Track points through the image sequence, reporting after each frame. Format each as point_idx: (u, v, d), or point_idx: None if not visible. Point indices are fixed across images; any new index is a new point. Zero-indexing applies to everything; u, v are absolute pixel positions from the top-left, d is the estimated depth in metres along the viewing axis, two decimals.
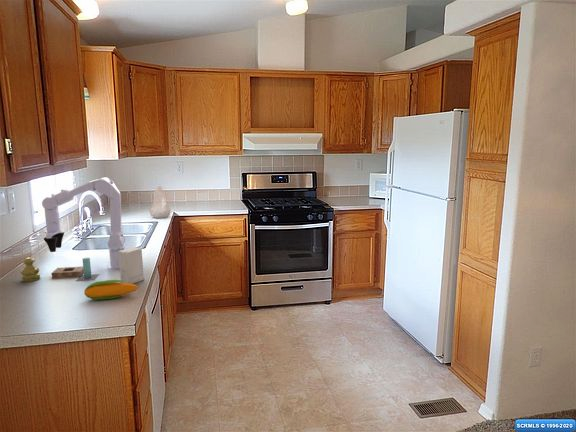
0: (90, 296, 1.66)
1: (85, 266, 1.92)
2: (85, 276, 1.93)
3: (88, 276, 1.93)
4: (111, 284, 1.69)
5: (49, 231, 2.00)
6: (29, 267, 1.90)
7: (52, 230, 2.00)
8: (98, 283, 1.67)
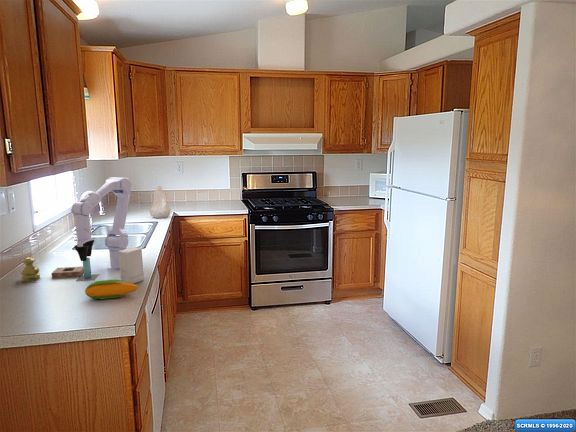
0: (90, 295, 1.67)
1: (85, 266, 1.92)
2: (85, 276, 1.93)
3: (88, 276, 1.93)
4: (111, 284, 1.69)
5: (80, 239, 1.88)
6: (29, 267, 1.90)
7: (83, 238, 1.88)
8: (98, 282, 1.68)
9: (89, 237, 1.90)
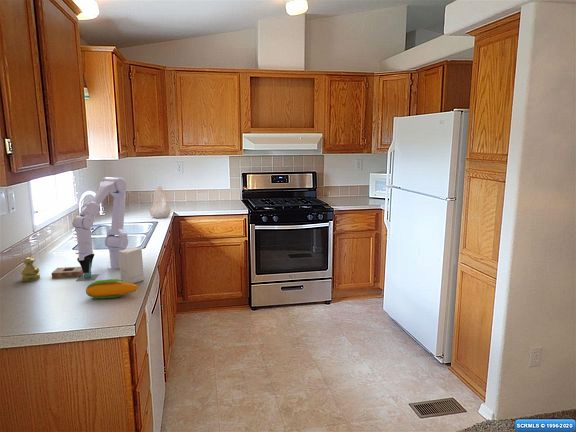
0: (91, 295, 1.67)
1: None
2: (85, 276, 1.93)
3: (88, 276, 1.93)
4: (112, 283, 1.69)
5: (81, 252, 1.89)
6: (29, 267, 1.90)
7: (84, 251, 1.89)
8: (99, 282, 1.68)
9: (90, 250, 1.91)
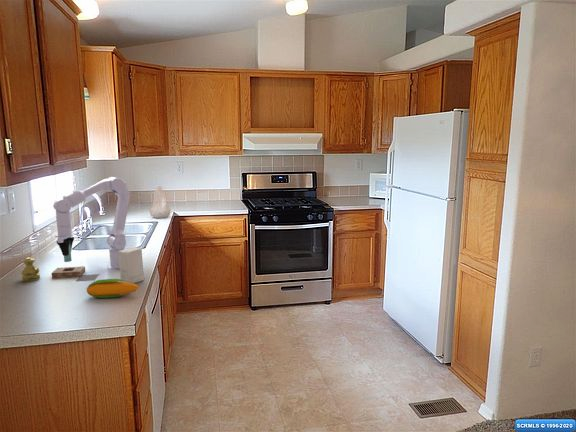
0: (91, 294, 1.68)
1: None
2: (65, 259, 1.95)
3: (68, 259, 1.95)
4: (112, 283, 1.70)
5: (60, 235, 1.91)
6: (29, 267, 1.90)
7: (63, 234, 1.91)
8: (99, 281, 1.69)
9: (70, 233, 1.93)
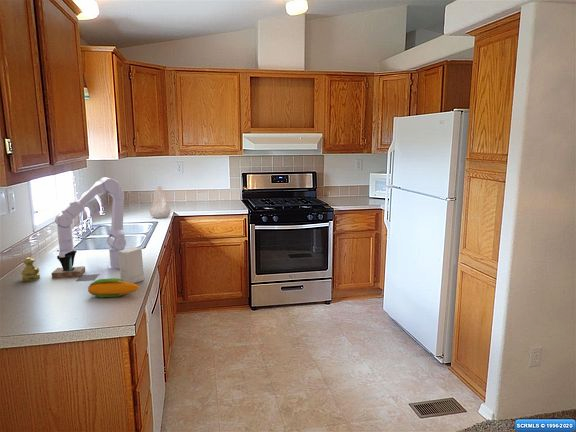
0: (92, 293, 1.69)
1: None
2: None
3: None
4: (113, 282, 1.71)
5: (62, 249, 1.93)
6: (29, 267, 1.90)
7: (65, 248, 1.93)
8: (100, 281, 1.70)
9: (71, 248, 1.95)
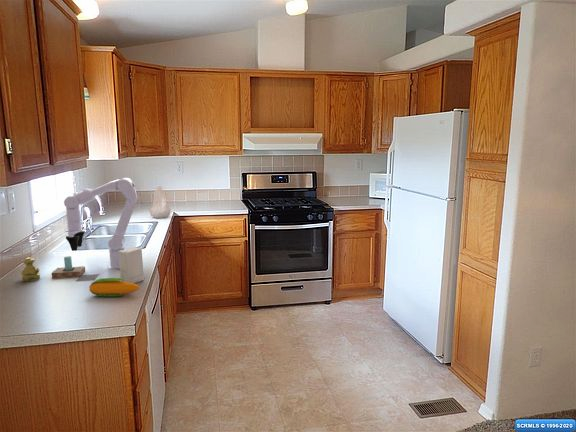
0: (93, 292, 1.70)
1: (66, 265, 1.95)
2: None
3: None
4: (113, 282, 1.71)
5: (71, 230, 2.01)
6: (29, 267, 1.90)
7: (74, 229, 2.01)
8: (101, 280, 1.71)
9: (79, 228, 2.03)
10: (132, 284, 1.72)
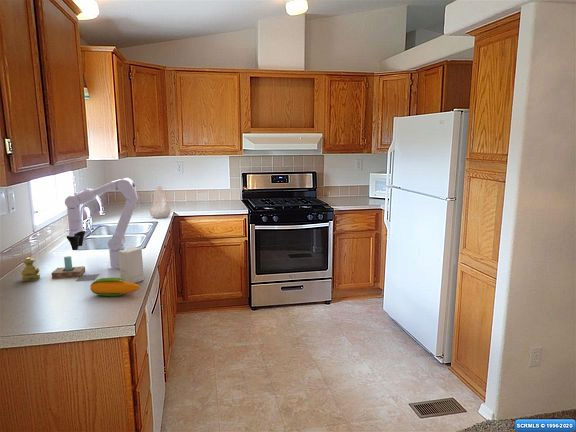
0: (94, 291, 1.71)
1: (66, 265, 1.95)
2: None
3: None
4: (114, 282, 1.71)
5: (71, 229, 2.02)
6: (29, 267, 1.91)
7: (74, 228, 2.02)
8: (102, 279, 1.71)
9: (80, 228, 2.04)
10: (132, 284, 1.72)
